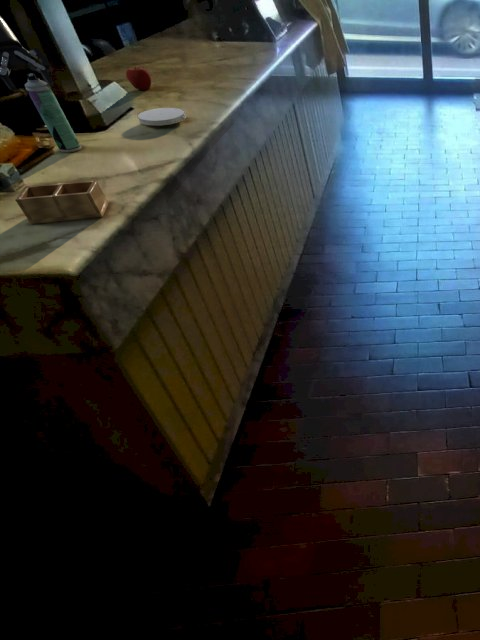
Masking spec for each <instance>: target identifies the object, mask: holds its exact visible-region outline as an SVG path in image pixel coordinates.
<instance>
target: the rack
mask: <svg viewBox="0 0 480 640" xmlns="http://www.w3.org/2000/svg"><path fill="white" fill-rule="evenodd" d="M15 202H16V203H17V206H18V207H19V208H20V209H21V211H22V212H23V214H24V216H25V217H26V219H27V221H28V222H29V223H30V224H31V225H35V224H45V223H55V222H57V223H58V222H66V221H75V220H85V219H95V218H103V216H104V214H105V213H106V210H107V208H108V206H109V201H108V200H107V197H106V196H105V194H104V191H103V189H102V187H101V186H100V184H99V182H98V180H85V181H73V182H72V181H71V182H63V183H50V184H36V185H26V186H24V187H23V189H22V190H21V192H20V193H19V194H18V196H16V198H15Z"/></svg>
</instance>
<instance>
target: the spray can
mask: <svg viewBox="0 0 480 640" xmlns="http://www.w3.org/2000/svg"><path fill="white" fill-rule="evenodd" d="M26 76H27V82H26V83H24V88H25V90H26V92H27V94H28V96H29V97H30V99H31V101H32V103H33V104H34V106H35V108H36V110H37V112H38V114H39V116H40V118H41V119H42V121H43V122H44V125H45V126H46V128H47V130H48V132H49V133H50V135H51V137H52V138H53V139H52V140H53V141H54V142H55V144H56V146H57V148H58V150H59V151H60V152H61V153H74V152H78V151H80V150H82V149H83V148H82V145H81V144H80V141H79V140H78V137H77V135H76V134H75V132H74V130H73V127H72V126H71V125H70V122H69V120H68V119H67V116H66V115H65V113H64V111H63V109H62V107H61V105H60V103H59V101H58V99H57V97H56V95H55V94H54V92H53V90H52V87H50V86H49V85H48V83H47V82H46V81H45V80H41V79H40V78H38V77H37V76H36V74H35V73H27V74H26Z"/></svg>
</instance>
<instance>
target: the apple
mask: <svg viewBox="0 0 480 640" xmlns="http://www.w3.org/2000/svg"><path fill="white" fill-rule="evenodd" d="M125 76H126V79H127V81H129V83H130V84H131V86H132V87H133V88H134V89H136V90H138V91H147V90H149V89H150V88H151V86H152V75H151V74H150V72H149V71H148V70H147V69H146V68H145V67H142V66H141V67H140V66H133V67H130V68H128V69H127V70H126V71H125Z"/></svg>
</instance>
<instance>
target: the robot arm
mask: <svg viewBox="0 0 480 640" xmlns="http://www.w3.org/2000/svg"><path fill="white" fill-rule="evenodd" d="M31 57H32V58H31ZM33 58H34V59H33ZM37 60H38V61H39V62H40V63H41V64H40V63H38V62H37ZM28 69H29V70H31V71H33V72H37V73H38V74H41V77H42V78H43V80H44V82H47V83H48V85H49V86H50V88H53V87H54V84H55V83H54V80H53V78H52V77H51V75H50V74H49V73H53V69H52V65H51V63H50V62H49V60H48V59H47V58H46V56H45V55H44V54H43V52H42V51H41V50H40V49H39V47H36V46H35V47H33V49H31V50H28V49H26V48H25V47H23V45H22V43H21V42H20V41H19V39H18V38H17V36H16V35H15V33H14V32H13V31H12V29H11V27H10V26H9V25H8V23H7V22H6V20H5V19H4V18H3V17H2V16H1V15H0V80H1V81H2V82H4V84H5V85H6V86H7V88H8V89H9V90H10V91H11V92H12V91H13V92H14V93H19V90H18V88H17V87H16V85H15V83H14V82H13V80H12V79H11V78H10V75H11V71H14V72H16V71H20V70H23V71H24V70H25V71H26V70H28Z"/></svg>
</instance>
